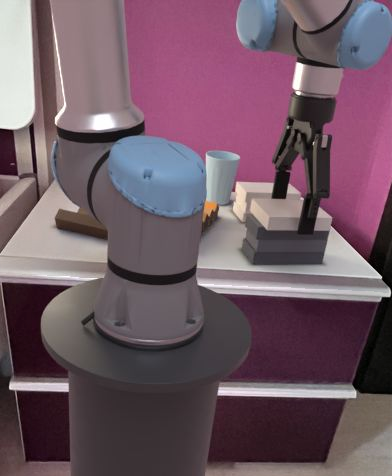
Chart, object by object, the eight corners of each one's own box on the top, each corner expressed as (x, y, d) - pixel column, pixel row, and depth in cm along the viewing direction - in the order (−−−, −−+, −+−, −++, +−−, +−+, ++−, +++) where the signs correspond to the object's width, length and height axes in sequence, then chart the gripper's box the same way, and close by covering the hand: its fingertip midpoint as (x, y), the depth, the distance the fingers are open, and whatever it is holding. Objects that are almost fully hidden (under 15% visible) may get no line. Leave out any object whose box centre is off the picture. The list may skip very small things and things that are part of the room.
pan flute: (54, 228, 106) (177, 257, 101) (54, 211, 105) (179, 240, 99) (112, 193, 127) (218, 216, 121) (113, 178, 125) (220, 201, 119)
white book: (267, 230, 97) (269, 216, 96) (249, 210, 105) (251, 198, 103) (329, 230, 100) (332, 217, 99) (308, 211, 108) (311, 199, 107)
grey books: (251, 264, 102) (258, 226, 98) (240, 249, 107) (246, 213, 103) (322, 264, 106) (331, 227, 102) (308, 249, 111) (316, 214, 107)
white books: (241, 222, 120) (246, 192, 116) (232, 210, 125) (236, 181, 122) (296, 223, 123) (302, 193, 119) (284, 211, 129) (290, 183, 125)
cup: (227, 195, 134) (233, 150, 129) (238, 206, 128) (245, 160, 123) (197, 195, 132) (201, 150, 126) (207, 206, 126) (212, 159, 120)
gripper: (372, 111, 82) (339, 246, 94) (305, 81, 102) (284, 196, 113) (326, 109, 80) (297, 247, 92) (266, 79, 100) (249, 195, 112)
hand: (290, 219), depth 103 cm, fingers open, 13 cm apart
